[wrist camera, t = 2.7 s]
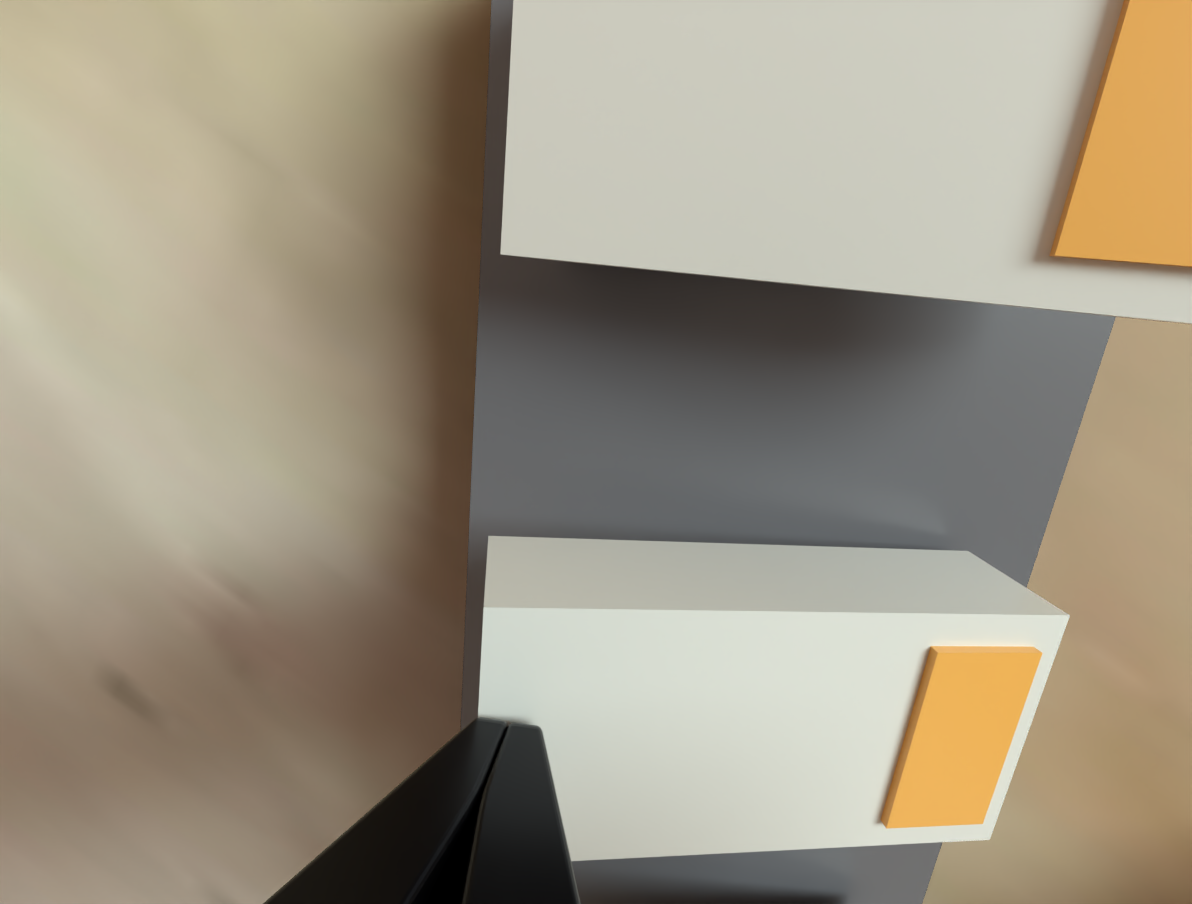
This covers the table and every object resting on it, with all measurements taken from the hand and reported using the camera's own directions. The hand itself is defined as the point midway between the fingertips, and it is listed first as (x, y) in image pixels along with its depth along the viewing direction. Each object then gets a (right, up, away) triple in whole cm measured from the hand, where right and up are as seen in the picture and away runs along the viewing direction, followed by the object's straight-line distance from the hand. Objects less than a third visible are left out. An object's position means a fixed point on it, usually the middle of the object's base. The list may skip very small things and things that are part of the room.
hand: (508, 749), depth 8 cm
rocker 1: (+4, +8, -1) cm, 9 cm away
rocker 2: (+3, 0, +2) cm, 4 cm away
